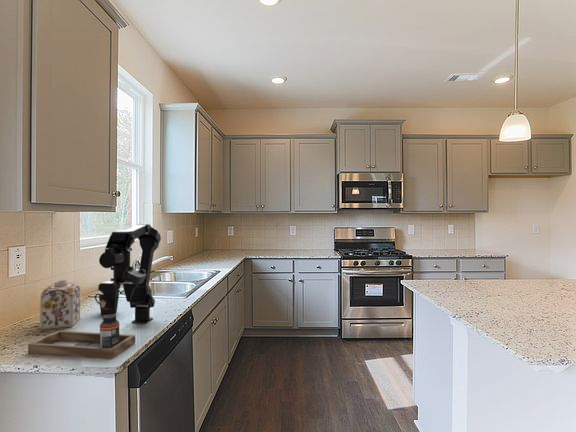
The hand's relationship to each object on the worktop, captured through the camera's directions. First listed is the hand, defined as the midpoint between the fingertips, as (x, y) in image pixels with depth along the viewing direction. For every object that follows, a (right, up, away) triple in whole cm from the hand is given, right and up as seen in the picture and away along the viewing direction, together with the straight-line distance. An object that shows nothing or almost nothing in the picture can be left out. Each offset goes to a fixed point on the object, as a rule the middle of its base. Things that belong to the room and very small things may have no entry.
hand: (121, 304), depth 127 cm
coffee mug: (-21, -12, +29) cm, 37 cm away
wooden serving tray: (-8, -12, -11) cm, 18 cm away
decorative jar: (-32, -12, +13) cm, 36 cm away
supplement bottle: (+2, -12, -12) cm, 17 cm away
